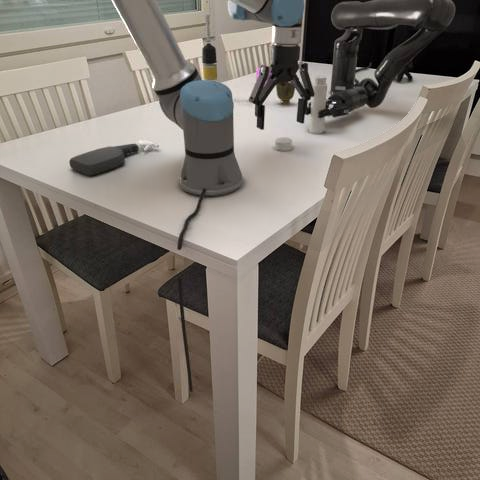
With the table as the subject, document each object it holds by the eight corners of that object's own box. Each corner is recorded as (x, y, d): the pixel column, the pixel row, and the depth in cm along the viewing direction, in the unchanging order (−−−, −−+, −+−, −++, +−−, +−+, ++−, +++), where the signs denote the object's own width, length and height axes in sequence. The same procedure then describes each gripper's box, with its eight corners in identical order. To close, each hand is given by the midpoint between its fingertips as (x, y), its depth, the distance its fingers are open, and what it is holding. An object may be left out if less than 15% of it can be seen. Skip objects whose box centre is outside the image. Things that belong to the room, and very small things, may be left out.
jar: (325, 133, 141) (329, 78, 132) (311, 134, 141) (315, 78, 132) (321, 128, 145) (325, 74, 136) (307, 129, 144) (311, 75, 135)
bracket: (266, 85, 195) (266, 69, 192) (256, 84, 198) (256, 67, 195) (282, 80, 204) (282, 64, 200) (272, 78, 207) (272, 62, 203)
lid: (280, 143, 134) (280, 136, 132) (294, 147, 131) (295, 139, 130) (271, 148, 130) (272, 140, 129) (286, 152, 128) (286, 144, 126)
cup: (272, 105, 169) (272, 83, 165) (279, 100, 174) (280, 79, 170) (290, 107, 166) (291, 85, 162) (297, 102, 171) (298, 80, 167)
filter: (220, 99, 177) (217, 15, 161) (206, 100, 176) (202, 16, 160) (215, 96, 182) (212, 14, 166) (202, 97, 180) (197, 14, 164)
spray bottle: (67, 168, 120) (139, 144, 136) (91, 178, 114) (163, 151, 130) (65, 157, 118) (137, 134, 134) (89, 167, 112) (162, 142, 128)
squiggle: (400, 92, 202) (376, 71, 205) (417, 76, 202) (392, 56, 205) (405, 81, 191) (380, 59, 194) (423, 64, 191) (397, 42, 194)
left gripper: (251, 48, 108) (249, 134, 118) (332, 43, 118) (323, 123, 129) (236, 44, 113) (235, 127, 124) (315, 40, 124) (308, 116, 135)
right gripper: (327, 87, 150) (294, 97, 140) (364, 94, 141) (332, 105, 131) (325, 109, 154) (293, 120, 144) (361, 117, 145) (330, 130, 135)
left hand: (280, 125), depth 127 cm, fingers open, 13 cm apart
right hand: (312, 113), depth 138 cm, fingers closed on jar, 4 cm apart
